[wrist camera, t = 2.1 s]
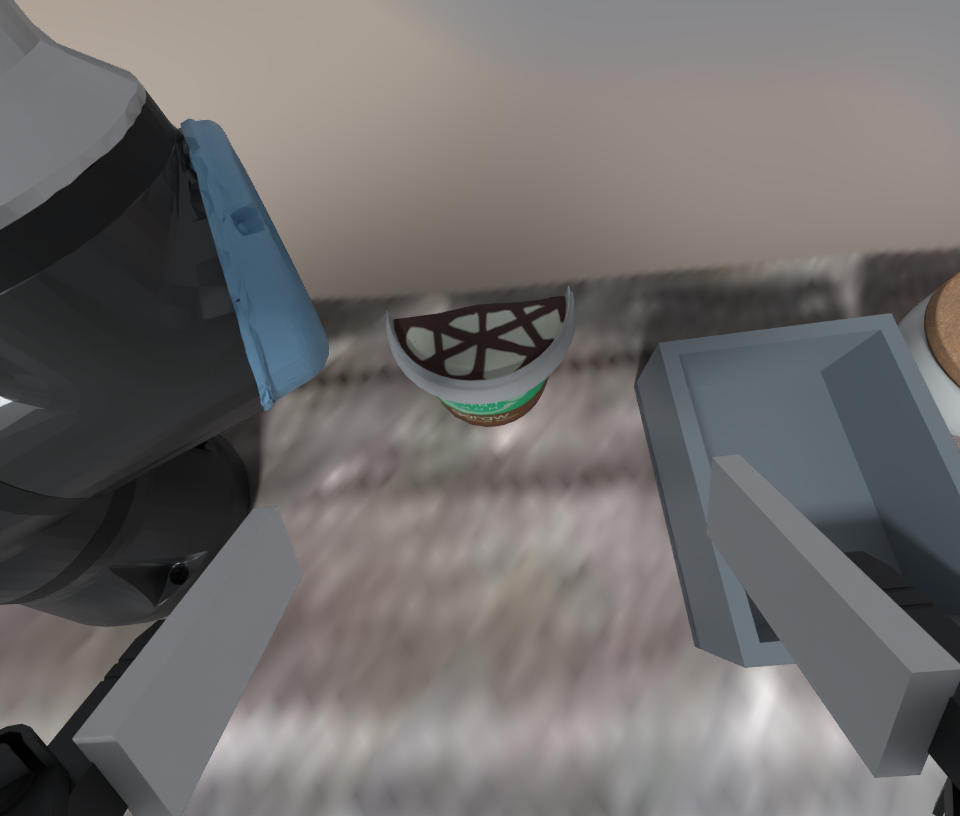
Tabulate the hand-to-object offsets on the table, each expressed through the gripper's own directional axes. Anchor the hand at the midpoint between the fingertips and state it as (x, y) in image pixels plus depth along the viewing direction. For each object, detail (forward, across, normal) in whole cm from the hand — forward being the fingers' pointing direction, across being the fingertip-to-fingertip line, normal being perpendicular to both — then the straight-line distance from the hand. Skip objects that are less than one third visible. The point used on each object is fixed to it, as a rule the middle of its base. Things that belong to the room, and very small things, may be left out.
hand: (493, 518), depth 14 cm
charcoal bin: (+15, +18, -12) cm, 26 cm away
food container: (+22, 0, -5) cm, 22 cm away
